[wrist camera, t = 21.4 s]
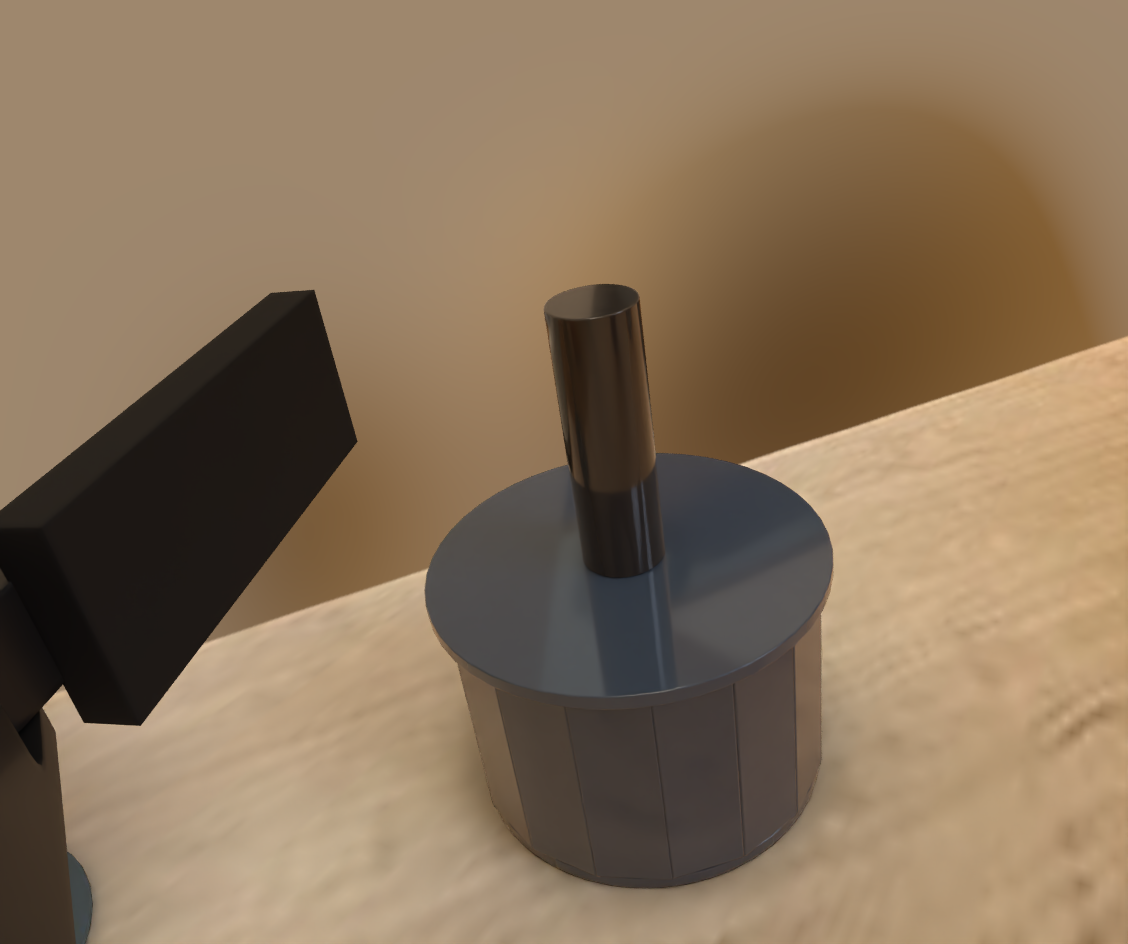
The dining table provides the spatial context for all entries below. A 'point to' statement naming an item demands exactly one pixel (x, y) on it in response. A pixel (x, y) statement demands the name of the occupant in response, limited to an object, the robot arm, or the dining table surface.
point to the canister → (656, 774)
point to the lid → (625, 547)
